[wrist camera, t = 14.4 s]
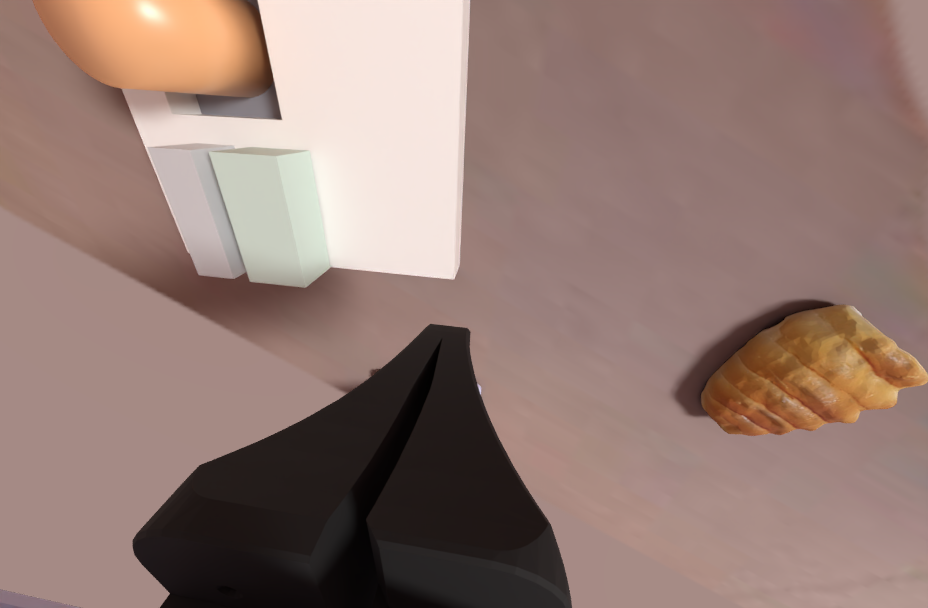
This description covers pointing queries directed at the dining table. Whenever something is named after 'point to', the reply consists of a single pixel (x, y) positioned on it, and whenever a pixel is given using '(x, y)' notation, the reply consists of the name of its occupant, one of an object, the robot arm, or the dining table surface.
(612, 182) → the dining table surface
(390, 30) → the housing
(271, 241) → the block
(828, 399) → the pastry
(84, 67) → the peg
